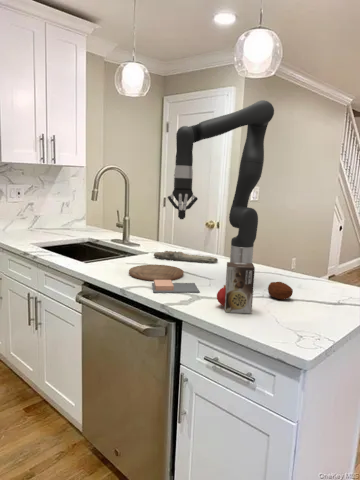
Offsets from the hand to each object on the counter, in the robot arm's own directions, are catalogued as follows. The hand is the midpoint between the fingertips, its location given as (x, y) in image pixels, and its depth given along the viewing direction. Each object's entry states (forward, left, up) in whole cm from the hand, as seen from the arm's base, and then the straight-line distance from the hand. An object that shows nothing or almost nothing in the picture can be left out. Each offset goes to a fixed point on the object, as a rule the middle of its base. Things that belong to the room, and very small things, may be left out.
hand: (181, 219), depth 160 cm
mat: (+3, +10, -27) cm, 29 cm away
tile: (+4, +10, -26) cm, 28 cm away
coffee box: (-16, +35, -27) cm, 47 cm away
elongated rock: (-9, -42, -28) cm, 51 cm away
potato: (-36, +23, -27) cm, 51 cm away
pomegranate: (-12, +32, -27) cm, 44 cm away
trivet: (+9, -12, -28) cm, 32 cm away
